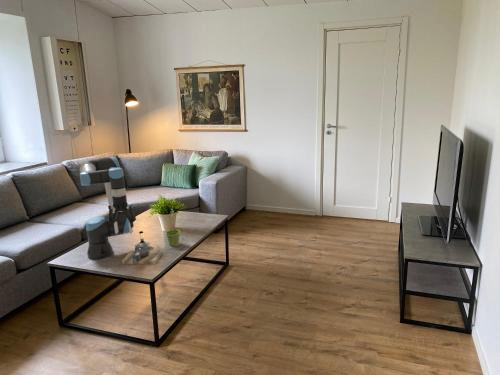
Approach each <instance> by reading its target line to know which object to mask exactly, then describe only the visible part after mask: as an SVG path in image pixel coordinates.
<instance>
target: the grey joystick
mask: <svg viewBox="0 0 500 375" xmlns="http://www.w3.org/2000/svg"><path fill="white" fill-rule="evenodd" d="M143 233H144V231H142V230H140V231H139V232H138V234H139V235H142V234H143ZM144 240H145V238H143V237H141V238H139V242H137V243H135V244H134V248H135V247H137V246H139V244H141V243H142V244H143V245H147V246H148V247H149V246H151V242H150V241H144Z"/></svg>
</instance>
